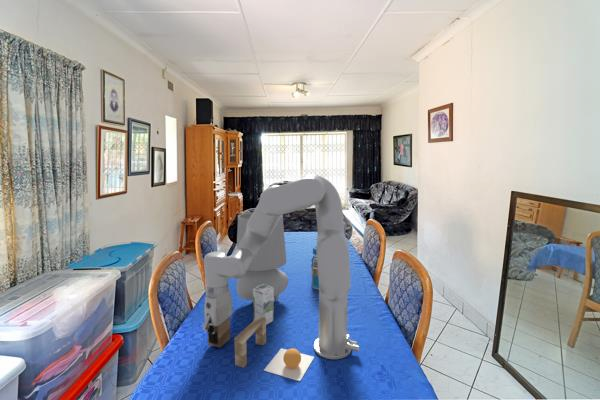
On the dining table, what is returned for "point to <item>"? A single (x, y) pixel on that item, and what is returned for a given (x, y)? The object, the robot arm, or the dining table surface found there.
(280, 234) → the table lamp
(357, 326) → the dining table surface
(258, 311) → the syrup box
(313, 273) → the beverage bottle
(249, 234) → the robot arm
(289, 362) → the ball
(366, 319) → the dining table surface
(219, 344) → the brown block
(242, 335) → the bridge
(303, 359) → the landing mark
